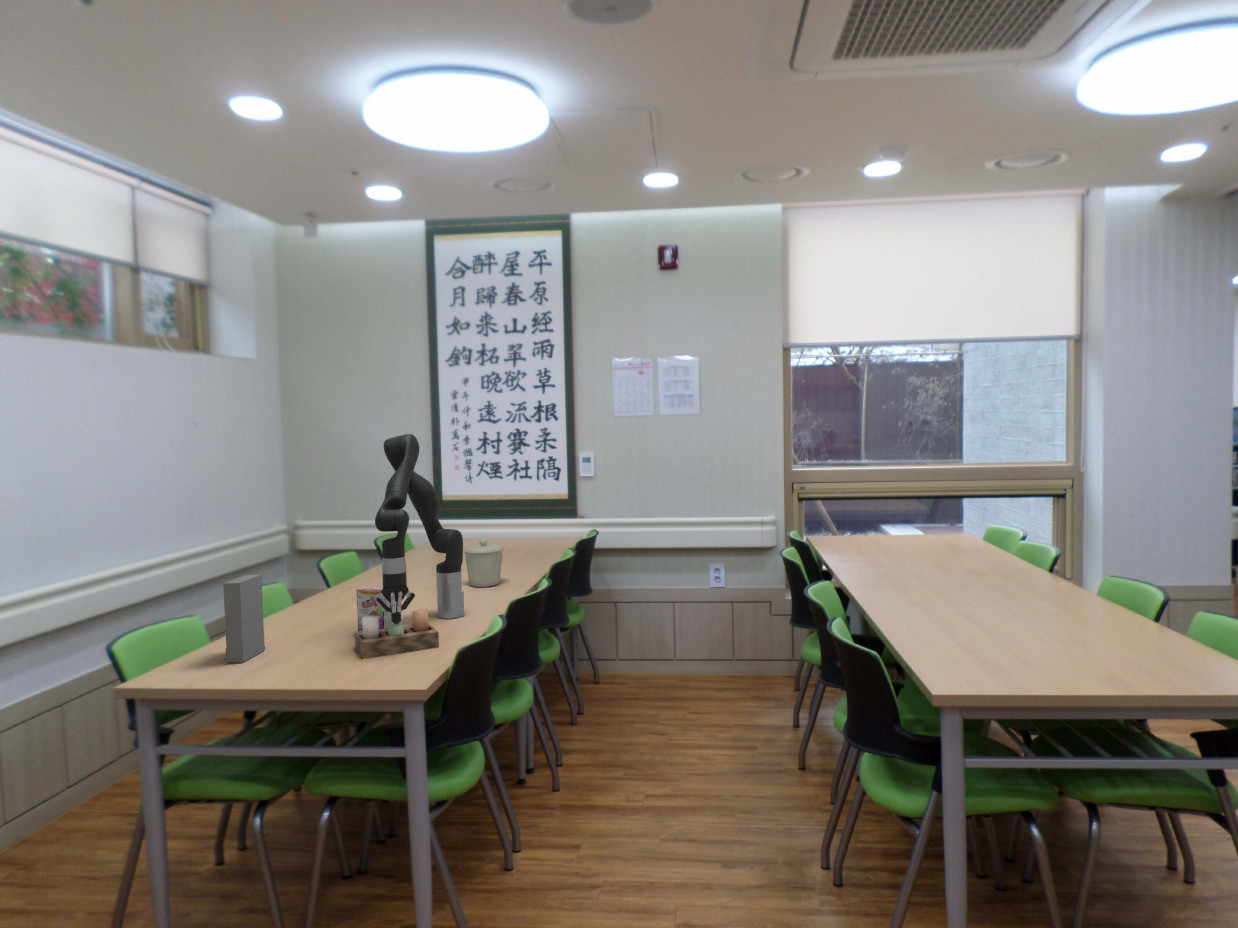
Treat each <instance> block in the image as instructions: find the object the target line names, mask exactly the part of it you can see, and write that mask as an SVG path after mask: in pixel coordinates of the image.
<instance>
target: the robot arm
mask: <svg viewBox="0 0 1238 928" xmlns="http://www.w3.org/2000/svg"><path fill="white" fill-rule="evenodd" d="M383 451H384V455H385V456H386V459H387V460H388V462H389V464H390V466H391V467H392V469H393V471H394V472H393V474H392V476H391V477H390V479H389V480H388V482H387V484H386V488H385V494H384V499H383V500H382V501H383V502H382V503H381V506H380V507H379V509H378V511H377V513H376V515H375V519H374V525H375V527H376V530H378V531H379V532H383V533H384V532H385V533H386V532H388V533H390V532H397V533H396V535H395V536H394V537H391V538H386V539H384V540H383V541H382V542H381V543H382V544H381V553H382V554H381V555H382V561H381V569H382V570H381V572H382V588H383V589H382V591H381V594H380V595H379V596H378V597H376V598H375V600H376V601H377V602H378V603H379V604H380V605H381V606H382V607H383V608H384V609H385V610H386V611H387V612H391V621H392V623H394V624H399V623H402V612H403V611H404V610H407V609H408V607H409V606H410V604H411V602H412V601H413V600H414V598H415V597H416V593H414V592H412V591H410V590H409V589H410V588H409V587H408V586H407V585H408V582H407V581H408V580H407V561H406V551H405V547H406V546H405V542H406V535H407V532H408V527H409V525H410V515H409V513H408V512H407V511H406V510H405V509H404V508H405V506H406V504H407V501H408V500H407V499H408V497H409V499H410V502H411V504H412V505H413V508H414V509H415V511H416V513H417V515H418V517H419V519H420V521H421V523H422V526H423V527H424V531H425V534H426V537H427V539H428V542H429V544H430V547H431V548H432V549H433V550H434V552H436V553H439V554H445V557H444V558H445V560H444V561H442V562H439V563H437V564H436V567H435V569H436V570H435V571H436V572H435V573H436V597H437V598H436V599H437V600H436V601H437V603H436V604H437V617H438V618H439V619H445V620H449V619H456V618H460V617H464V616H465V597H464V596H465V595H464V590H463V585H462V584H463V582H462V567H463V566H462V565H463V561H464V560H463V559H464V557H463V556H464V551H463V550H464V538H463V535H462V532H461V531H460V530H458V529H454V528H453V529H452V528H444V526H442V524H441V522H440V520H439V517H438V513H439V507H440V500H439V496H438V493H437V492H436V490H435V487H434V486H433V484H432V483H431V482H430V481H429V480H427V479H426V478H425V477H424V476H422V475H420V474H419V473H417V472H415V467H416V465H417V463H418V459H419V456H420V443H419V440H418V438H417V437H416V436H415V435H414V434H412V433H405V434H402V435H397V436H394V437H393V436H392V437H390V438H387V439H385V440H384V442H383ZM383 596H384V597H385V598H386V599H387V600H388V601H389V604H390V607H388V606H387V605H386V604H385V603H384V602H383V601H384V598H383ZM405 598H406V599H405ZM404 599H405V600H404ZM403 600H404V602H403Z"/></svg>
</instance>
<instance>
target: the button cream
mask: <svg viewBox="0 0 1238 928" xmlns="http://www.w3.org/2000/svg"><path fill="white" fill-rule="evenodd" d="M362 626H363V640H364V639H371V638H378V637H379V617H378V616H366V617H363V618H362Z"/></svg>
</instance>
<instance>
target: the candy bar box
mask: <svg viewBox="0 0 1238 928" xmlns="http://www.w3.org/2000/svg"><path fill="white" fill-rule="evenodd" d="M382 589H383V587H375V586H363V587H358V588H357V589H356V608H357V609H356V610H357V611H356V612H357V632H363V626H362V618H363V617H366V616H378V617H379V629H386V628H388V625H389V624H392V623H393V622H392V621H391V612H387V611H386V610H385V609H384V608H383V607H382V606H381V605H380V604H379V603H378V602H377V601H376V600H375V598H376V597H378V596H379V595H380V594H381V591H382ZM383 598H384V601H383V602H384V603H385V604H386V605H387V606H388V607H390V604H389V601H388V600H387V599H386V598H385V597H384V596H383Z"/></svg>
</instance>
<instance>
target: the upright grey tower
mask: <svg viewBox="0 0 1238 928" xmlns="http://www.w3.org/2000/svg"><path fill="white" fill-rule="evenodd" d="M262 580H263V579H262V574H245V575H242V576H239V577H237V578H234V579H232V580H229V581H226V582H223V585H222V586H223V606H224V626H225V644H226V645H225V646H226V647H225V657H226V658H224V663H226V664H230V663H240V664H244V663H245V662H247V661H248V660H250V659H252V658H253V657H255V656H257V655H259V654H260V653H263V652H264V651H265V650H266V646H265V625H264V624H265V623H264V604H263V585H262V584H263V583H262Z"/></svg>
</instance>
